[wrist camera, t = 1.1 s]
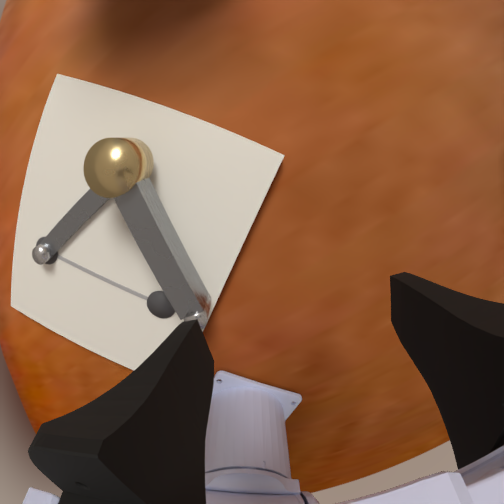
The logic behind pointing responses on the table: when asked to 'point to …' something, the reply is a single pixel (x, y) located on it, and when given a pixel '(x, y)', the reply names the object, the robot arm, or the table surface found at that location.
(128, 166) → the divider leg
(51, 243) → the divider fixed leg
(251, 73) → the table surface
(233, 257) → the plate
